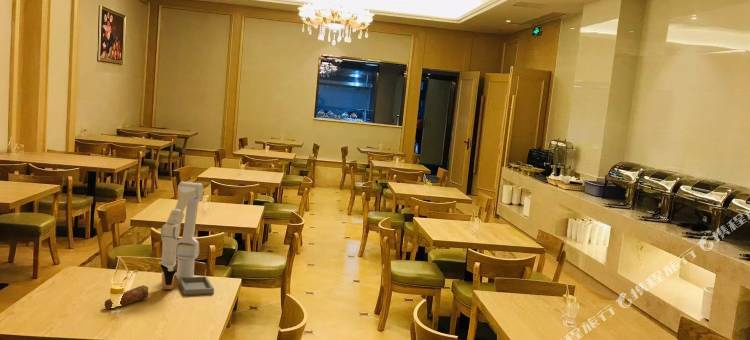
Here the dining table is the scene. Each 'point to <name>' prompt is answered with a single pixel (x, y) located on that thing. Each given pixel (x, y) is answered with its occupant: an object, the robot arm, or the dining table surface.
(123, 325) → the dining table surface
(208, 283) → the serving tray
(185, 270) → the robot arm
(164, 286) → the cup
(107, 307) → the bread
